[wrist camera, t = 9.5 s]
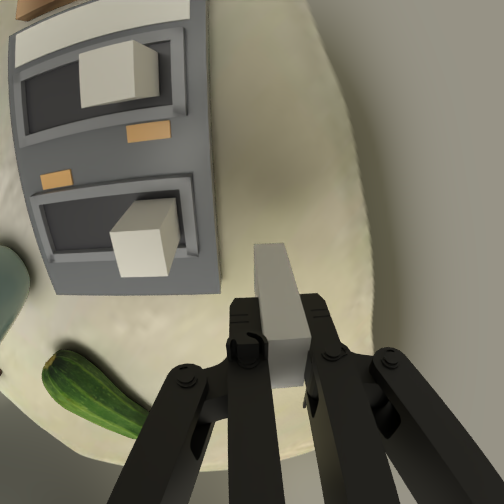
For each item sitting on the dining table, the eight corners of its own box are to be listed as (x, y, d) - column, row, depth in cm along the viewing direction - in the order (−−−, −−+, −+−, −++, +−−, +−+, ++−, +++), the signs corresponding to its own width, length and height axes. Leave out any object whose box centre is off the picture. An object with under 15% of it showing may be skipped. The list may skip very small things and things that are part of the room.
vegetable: (42, 391, 22) (157, 466, 32) (78, 342, 27) (179, 427, 37) (26, 375, 26) (127, 449, 36) (56, 334, 31) (148, 414, 41)
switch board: (22, 37, 14) (3, 35, 11) (208, -14, 14) (204, -27, 12) (64, 282, 26) (53, 299, 23) (221, 279, 26) (220, 299, 24)
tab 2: (134, 200, 20) (109, 232, 15) (175, 197, 20) (159, 229, 15) (141, 238, 21) (121, 277, 17) (180, 236, 21) (168, 276, 17)
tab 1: (114, 60, 15) (78, 54, 10) (158, 52, 15) (133, 39, 10) (116, 102, 16) (81, 108, 12) (159, 95, 16) (135, 97, 12)
